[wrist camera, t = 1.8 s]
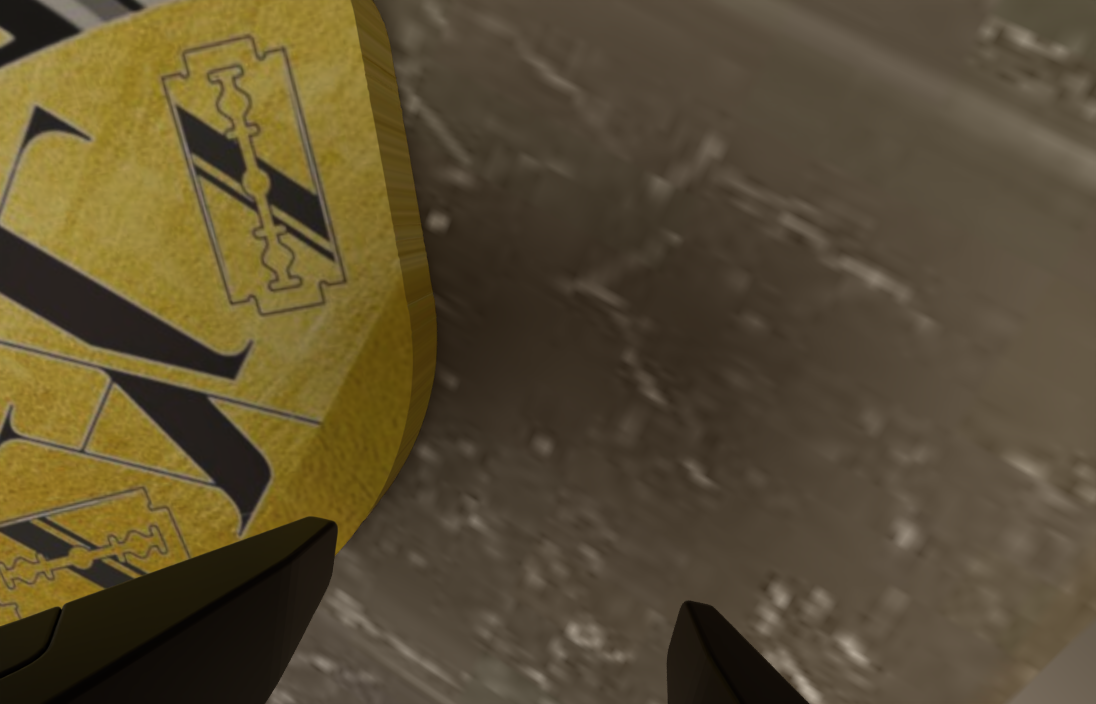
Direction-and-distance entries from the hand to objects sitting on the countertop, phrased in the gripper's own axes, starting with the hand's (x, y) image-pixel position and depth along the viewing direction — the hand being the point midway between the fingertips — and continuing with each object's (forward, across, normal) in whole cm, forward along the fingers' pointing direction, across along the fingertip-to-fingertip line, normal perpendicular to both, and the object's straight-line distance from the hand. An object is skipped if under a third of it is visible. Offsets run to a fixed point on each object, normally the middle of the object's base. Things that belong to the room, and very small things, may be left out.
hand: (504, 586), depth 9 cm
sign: (+13, +19, 0) cm, 23 cm away
